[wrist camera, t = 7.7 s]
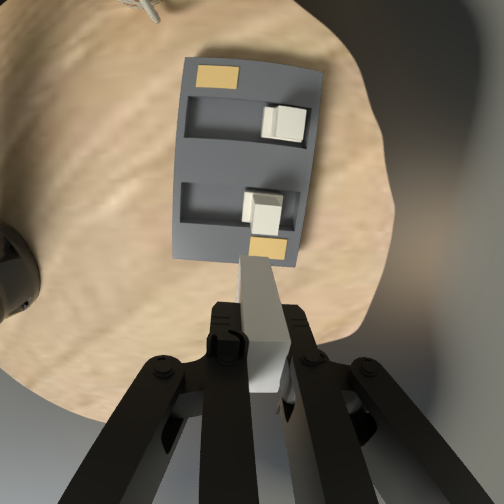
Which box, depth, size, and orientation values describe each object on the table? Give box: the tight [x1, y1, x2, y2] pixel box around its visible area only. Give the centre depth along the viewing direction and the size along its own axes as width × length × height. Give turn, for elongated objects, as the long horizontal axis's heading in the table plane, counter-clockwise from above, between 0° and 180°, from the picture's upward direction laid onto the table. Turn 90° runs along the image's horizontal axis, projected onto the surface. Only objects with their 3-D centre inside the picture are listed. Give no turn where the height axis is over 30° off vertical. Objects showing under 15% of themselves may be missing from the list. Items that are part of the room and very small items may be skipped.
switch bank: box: [172, 57, 323, 267], centre depth 28 cm, size 14×22×3 cm, turn 174°
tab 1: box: [242, 189, 283, 236], centre depth 28 cm, size 4×3×6 cm
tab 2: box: [260, 106, 306, 142], centre depth 24 cm, size 4×3×6 cm
